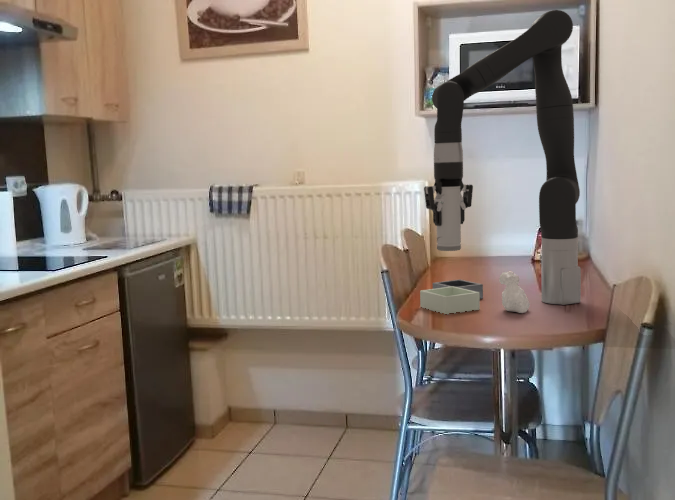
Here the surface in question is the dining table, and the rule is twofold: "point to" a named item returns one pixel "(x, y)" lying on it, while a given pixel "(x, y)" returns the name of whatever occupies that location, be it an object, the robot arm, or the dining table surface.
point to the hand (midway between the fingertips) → (449, 224)
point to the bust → (513, 293)
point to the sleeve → (461, 285)
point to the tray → (450, 300)
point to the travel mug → (450, 216)
